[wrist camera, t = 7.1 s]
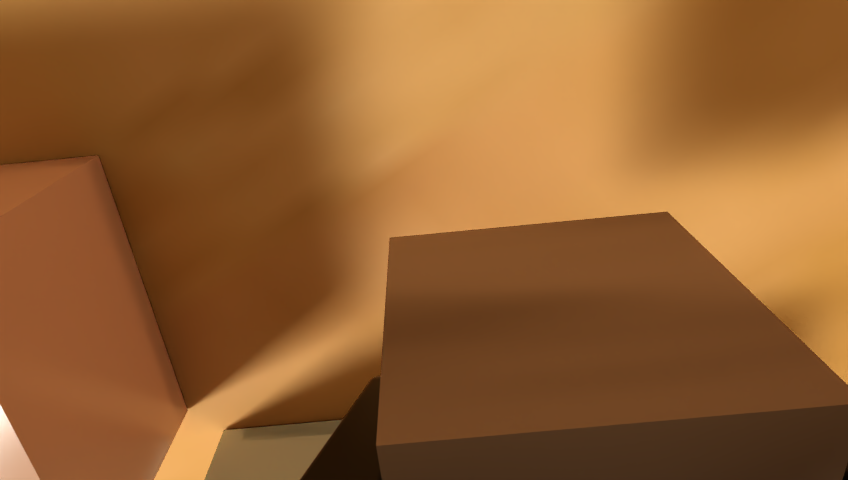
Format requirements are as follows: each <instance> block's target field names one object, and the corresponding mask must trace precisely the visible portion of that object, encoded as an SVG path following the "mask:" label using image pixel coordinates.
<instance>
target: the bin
mask: <svg viewBox="0 0 848 480" xmlns="http://www.w3.org/2000/svg"><path fill="white" fill-rule="evenodd" d="M341 421H342V420H333V421H322V422H311V423H299V424H288V425H277V426H266V427H255V428H243V429H232V430H224V431H223V434H222V437H221V439H220V442H219V444H218V447H217V449H216V452H215V454H214V457H213V459H212V462H211V465H210V467H209V470H208V472H207V475H206V477H205V480H300V479H301V477H302V476H303V474H304V473H305V472H306V470H307V469H308V467H309V466H310V465H311V463H312V462H313V460H314V459H315V458H316V456H317V455H318V453H319V452H320V451H321V449H322V448H323V446H324V445H325V444H326V442H327V441H328V439H329V438H330V436H331V435H332V434H333V432H334V431H335V429H336V428H337V427H338V425H339V424H340V422H341Z"/></svg>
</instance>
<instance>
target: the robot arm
mask: <svg viewBox="0 0 848 480" xmlns="http://www.w3.org/2000/svg"><path fill="white" fill-rule="evenodd" d="M380 378H381V376H376V377H374V378H372V379H371V380H370V382H369V383H368V384H367V386H366V387H365V389H364V390H363V392H362V393H361V394H360V396H359V397H358V399H357V400H356V401H355V403H354V404H353V406H352V407H351V408H350V410H349V411H348V413H347V414H346V415H345V417H344V418H343V420H342V421H341V422H340V424H339V425H338V427H337V428H336V429H335V431H334V432H333V434H332V435H331V436H330V438H329V439H328V441H327V442H326V444H325V445H324V446H323V448H322V449H321V451H320V452H319V453H318V455H317V456H316V458H315V459H314V460H313V462H312V463H311V465H310V466H309V467H308V469H307V470H306V472H305V473H304V474H303V476H302V477H301V479H300V480H382V478H381V472H380V466H379V460H378V454H377V449H376V439H377V424H378V409H379V393H380ZM842 480H848V463H847V466H846V469H845V473H844V476H843V479H842Z"/></svg>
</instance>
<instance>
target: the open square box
mask: <svg viewBox="0 0 848 480" xmlns="http://www.w3.org/2000/svg"><path fill="white" fill-rule="evenodd" d="M187 411H188V410H187V407H186V405H185V402H184V399H183V396H182V393H181V390H180V387H179V385H178V382H177V379H176V376H175V373H174V370H173V367H172V365H171V362H170V359H169V356H168V353H167V350H166V347H165V345H164V342H163V339H162V336H161V333H160V330H159V327H158V324H157V322H156V319H155V316H154V313H153V310H152V307H151V304H150V302H149V299H148V296H147V293H146V290H145V287H144V284H143V282H142V279H141V276H140V273H139V270H138V267H137V264H136V262H135V259H134V256H133V253H132V250H131V247H130V244H129V242H128V239H127V236H126V233H125V230H124V227H123V224H122V222H121V219H120V216H119V213H118V210H117V207H116V204H115V202H114V199H113V196H112V193H111V190H110V187H109V184H108V182H107V179H106V176H105V173H104V170H103V167H102V164H101V161H100V159H99V156H98V155H97V156H87V157H76V158H66V159H56V160H46V161H36V162H25V163H15V164H5V165H0V480H154V478H155V476H156V474H157V472H158V470H159V468H160V466H161V464H162V462H163V460H164V458H165V456H166V454H167V451H168V449H169V447H170V445H171V443H172V441H173V439H174V437H175V435H176V433H177V431H178V429H179V427H180V425H181V423H182V421H183V419H184V417H185V415H186V413H187Z"/></svg>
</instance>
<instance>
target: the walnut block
mask: <svg viewBox="0 0 848 480" xmlns="http://www.w3.org/2000/svg"><path fill="white" fill-rule="evenodd" d="M376 449H377V454H378V460H379V466H380V472H381V478H382V480H842V479H843V476H844V473H845V469H846V466H847V463H848V385H847V384H846V383H845V382H844V381H843V380H842V379H841V378H840V377H839V376H838V375H836V374H835V373H834V372H833V371H832V370H831V369H830V368H829V367H828V366H827V365H826V364H825V363H824V362H823V361H822V360H821V359H820V358H819V357H818V356H817V355H816V354H815V353H814V352H813V351H812V350H810V349H809V348H808V347H807V346H806V345H805V344H804V343H803V342H802V341H801V340H800V339H799V338H798V337H797V336H796V335H795V334H794V333H793V332H792V331H791V330H790V329H789V328H788V327H787V326H786V325H784V324H783V323H782V322H781V321H780V320H779V319H778V318H777V317H776V316H775V315H774V314H773V313H772V312H771V311H770V310H769V309H768V308H767V307H766V306H765V305H764V304H763V303H762V302H761V301H760V300H758V299H757V298H756V297H755V296H754V295H753V294H752V293H751V292H750V291H749V290H748V289H747V288H746V287H745V286H744V285H743V284H742V283H741V282H740V281H739V280H738V279H737V278H736V277H735V276H734V275H732V274H731V273H730V272H729V271H728V270H727V269H726V268H725V267H724V266H723V265H722V264H721V263H720V262H719V261H718V260H717V259H716V258H715V257H714V256H713V255H712V254H711V253H710V252H709V251H708V250H706V249H705V248H704V247H703V246H702V245H701V244H700V243H699V242H698V241H697V240H696V239H695V238H694V237H693V236H692V235H691V234H690V233H689V232H688V231H687V230H686V229H685V228H684V227H683V226H682V225H680V224H679V223H678V222H677V221H676V220H675V219H674V218H673V217H672V216H671V215H670V214H669V213H668V212H659V213H648V214H637V215H627V216H616V217H606V218H595V219H584V220H574V221H563V222H553V223H542V224H531V225H521V226H510V227H499V228H489V229H478V230H468V231H457V232H446V233H436V234H425V235H414V236H404V237H393V238H390V241H389V256H388V272H387V287H386V302H385V317H384V332H383V348H382V363H381V378H380V393H379V409H378V424H377V439H376Z"/></svg>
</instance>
